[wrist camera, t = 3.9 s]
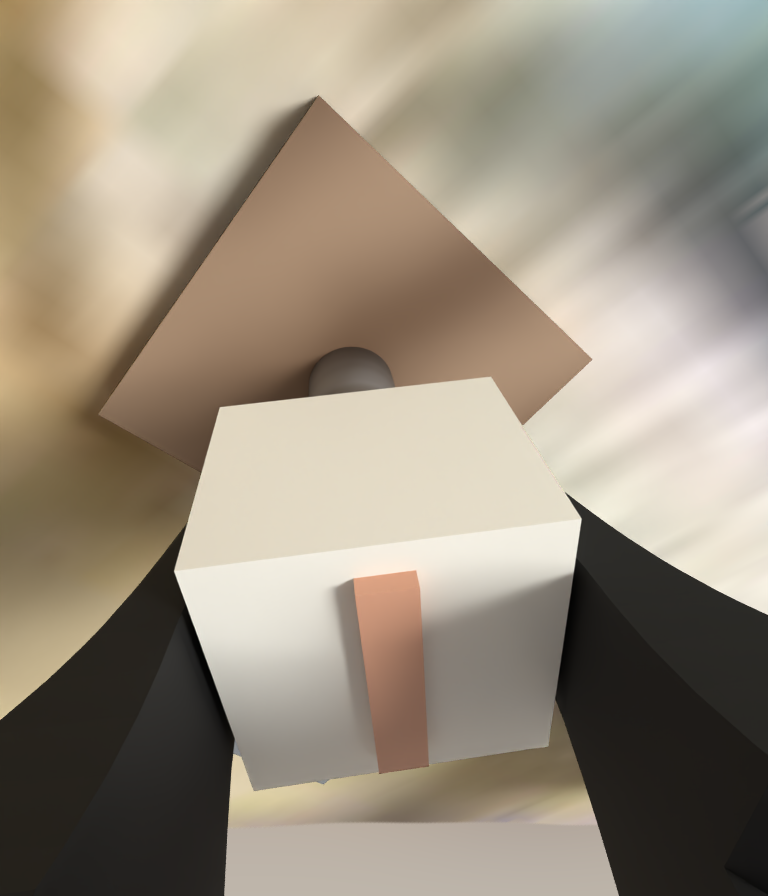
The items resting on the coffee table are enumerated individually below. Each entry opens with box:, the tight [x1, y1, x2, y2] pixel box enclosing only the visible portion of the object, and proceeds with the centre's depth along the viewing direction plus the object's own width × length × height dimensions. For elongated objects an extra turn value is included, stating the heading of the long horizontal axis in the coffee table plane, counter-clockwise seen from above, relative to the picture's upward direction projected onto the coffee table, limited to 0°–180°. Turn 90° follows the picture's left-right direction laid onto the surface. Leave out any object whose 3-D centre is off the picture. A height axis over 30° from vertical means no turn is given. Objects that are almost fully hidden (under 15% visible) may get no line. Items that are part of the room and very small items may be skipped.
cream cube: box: [174, 377, 582, 791], centre depth 10 cm, size 5×5×4 cm
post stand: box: [98, 95, 592, 473], centre depth 15 cm, size 10×10×6 cm
